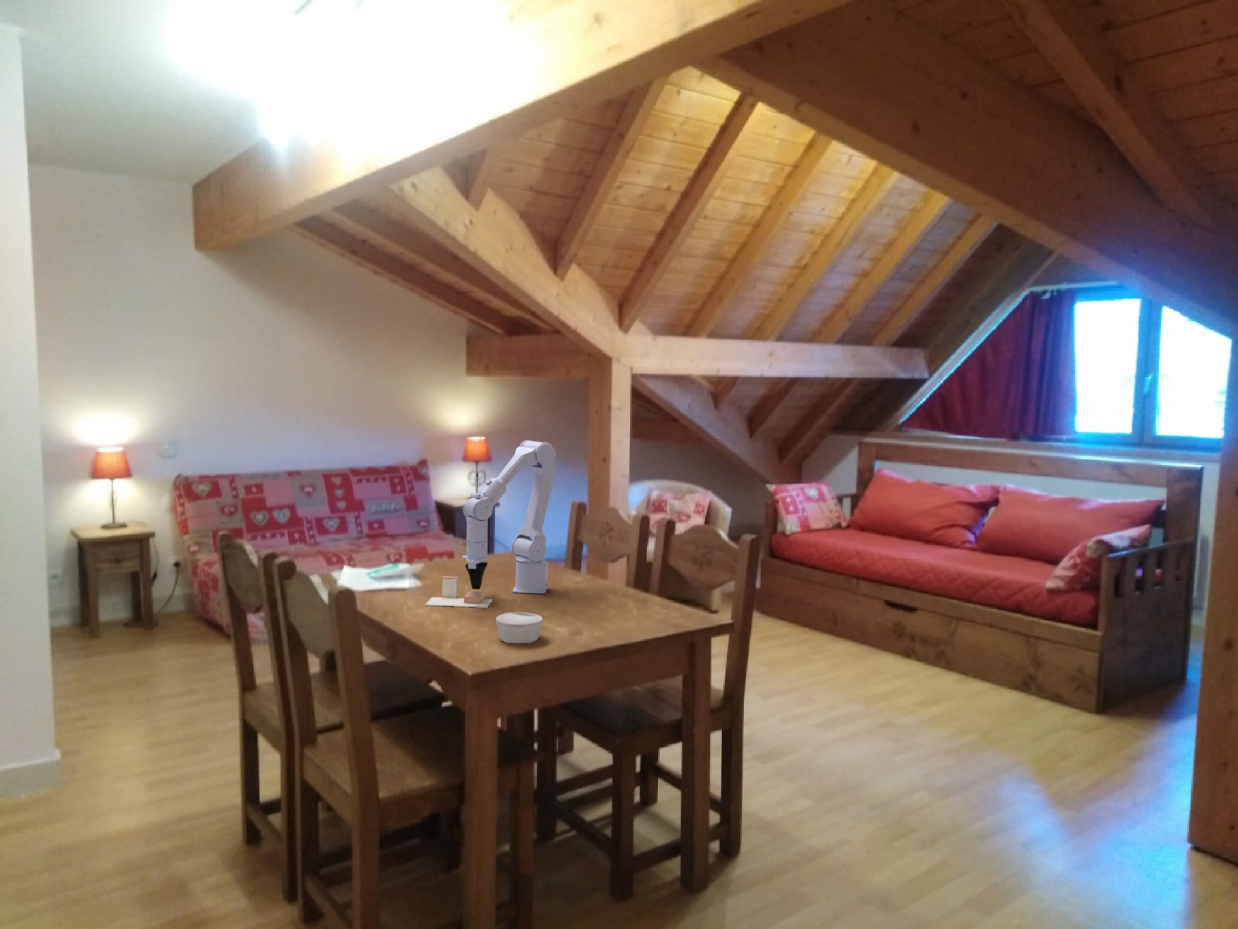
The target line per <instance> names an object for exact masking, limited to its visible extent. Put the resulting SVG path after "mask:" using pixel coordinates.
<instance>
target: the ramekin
mask: <svg viewBox="0 0 1238 929" xmlns="http://www.w3.org/2000/svg"><path fill="white" fill-rule="evenodd" d="M495 622H496V626H497V632H498V633H497V635H498V638H499V640H501V641H502V642H503V641H504V642H503V643H507V644H510V643H528V644H532V643H535V642H537V641H538V639H539V638H540V633H541V630H542V624H543V622H544V618H543V617H542V616H541V615H539V614H537V613H536V614H535V613H530V612H521V611H518V612H517V611H515V612H505V613H502V614H500V615H497V616H496V619H495ZM534 641H535V642H534ZM531 642H532V643H531Z"/></svg>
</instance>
